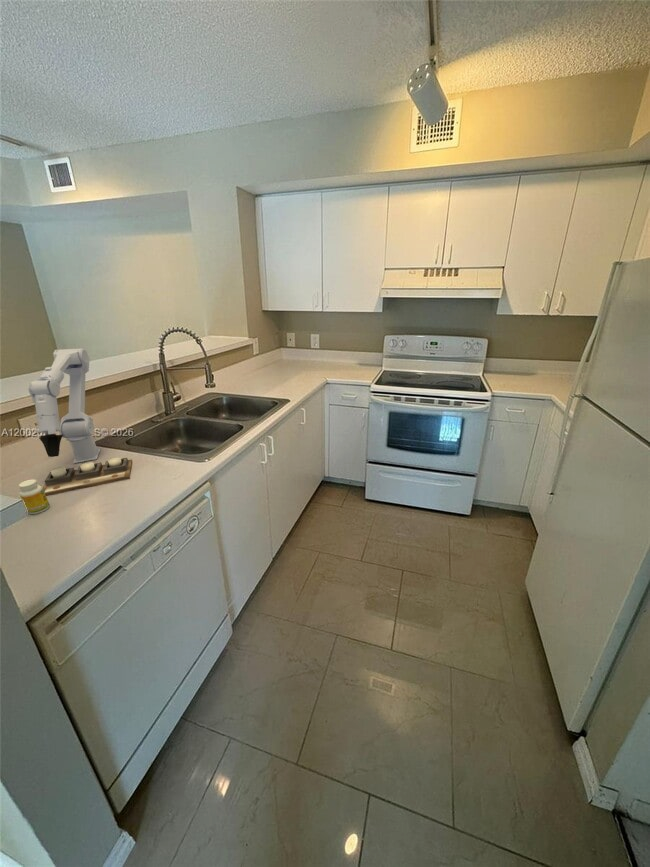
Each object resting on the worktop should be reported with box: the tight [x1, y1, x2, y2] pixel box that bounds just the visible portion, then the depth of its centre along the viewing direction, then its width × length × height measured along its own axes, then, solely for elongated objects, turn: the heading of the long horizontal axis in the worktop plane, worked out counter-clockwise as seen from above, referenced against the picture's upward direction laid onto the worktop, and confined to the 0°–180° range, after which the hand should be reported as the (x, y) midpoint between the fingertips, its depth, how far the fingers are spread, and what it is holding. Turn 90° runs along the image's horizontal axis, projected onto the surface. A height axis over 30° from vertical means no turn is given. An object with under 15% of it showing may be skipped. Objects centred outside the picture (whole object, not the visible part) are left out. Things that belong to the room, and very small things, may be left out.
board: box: [42, 457, 133, 497], centre depth 118 cm, size 14×26×3 cm, turn 114°
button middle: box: [80, 461, 95, 473], centre depth 118 cm, size 4×4×2 cm
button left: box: [50, 466, 67, 478], centre depth 115 cm, size 4×4×2 cm
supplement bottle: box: [18, 479, 50, 515], centre depth 100 cm, size 5×5×10 cm
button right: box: [107, 456, 122, 467], centre depth 122 cm, size 4×4×2 cm
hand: (53, 456), depth 111 cm, fingers open, 7 cm apart
